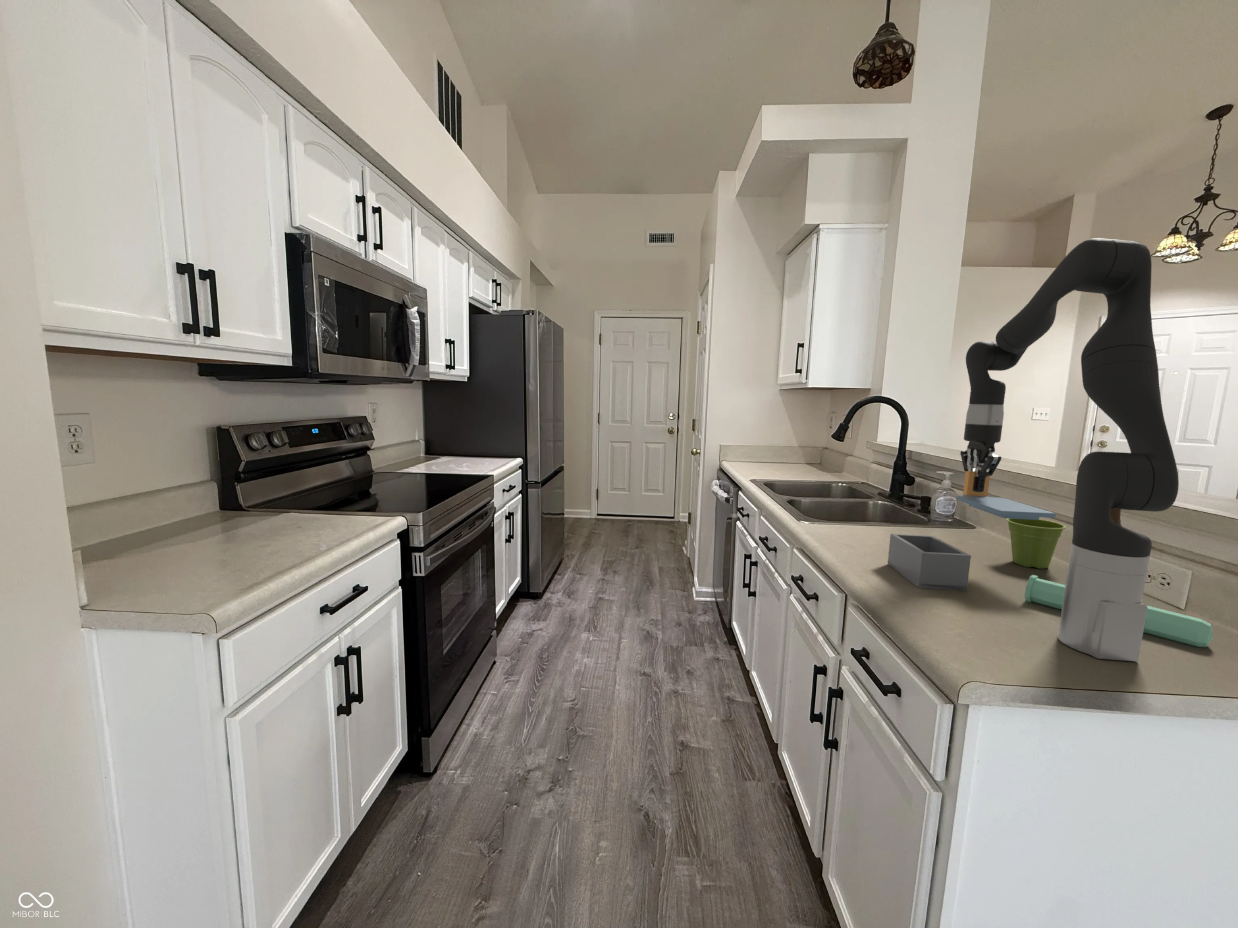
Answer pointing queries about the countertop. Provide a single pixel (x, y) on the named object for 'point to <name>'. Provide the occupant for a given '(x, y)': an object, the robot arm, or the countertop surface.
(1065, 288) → the robot arm
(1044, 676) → the countertop surface
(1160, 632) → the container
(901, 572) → the storage box
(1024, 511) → the lid
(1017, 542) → the plant pot
